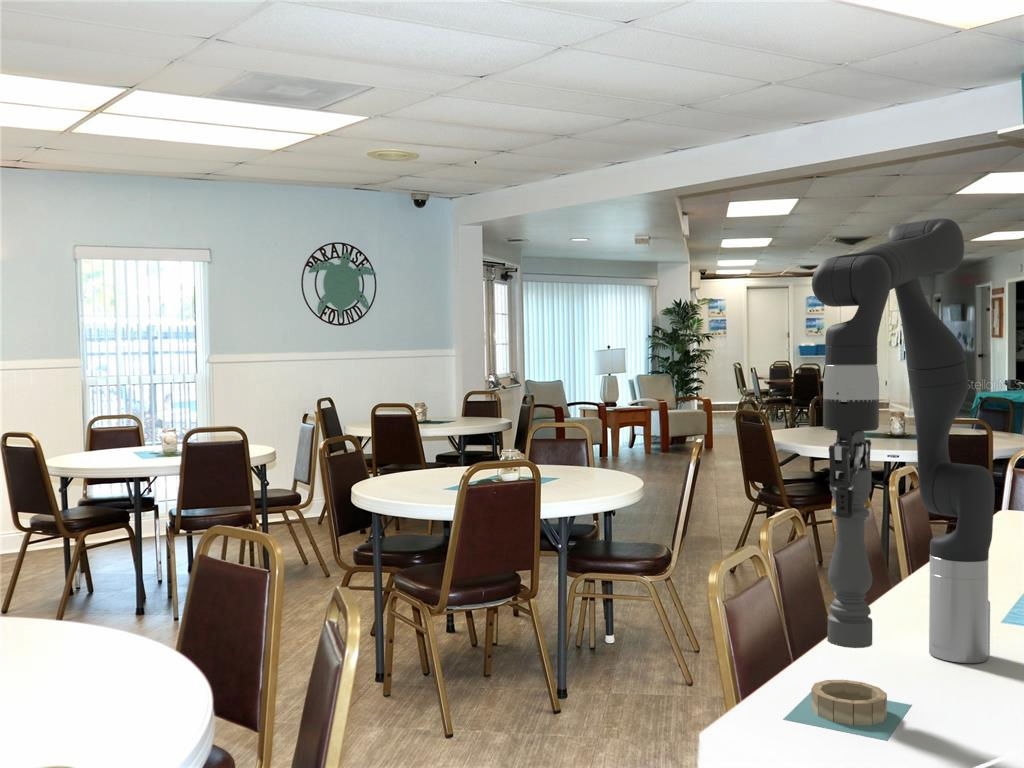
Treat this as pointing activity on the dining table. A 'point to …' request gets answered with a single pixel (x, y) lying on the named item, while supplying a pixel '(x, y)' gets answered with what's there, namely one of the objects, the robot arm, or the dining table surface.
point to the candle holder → (851, 572)
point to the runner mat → (877, 731)
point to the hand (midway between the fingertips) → (850, 513)
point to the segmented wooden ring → (849, 702)
